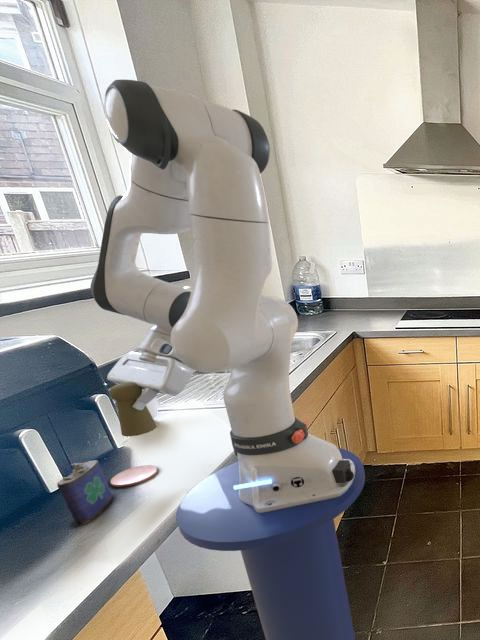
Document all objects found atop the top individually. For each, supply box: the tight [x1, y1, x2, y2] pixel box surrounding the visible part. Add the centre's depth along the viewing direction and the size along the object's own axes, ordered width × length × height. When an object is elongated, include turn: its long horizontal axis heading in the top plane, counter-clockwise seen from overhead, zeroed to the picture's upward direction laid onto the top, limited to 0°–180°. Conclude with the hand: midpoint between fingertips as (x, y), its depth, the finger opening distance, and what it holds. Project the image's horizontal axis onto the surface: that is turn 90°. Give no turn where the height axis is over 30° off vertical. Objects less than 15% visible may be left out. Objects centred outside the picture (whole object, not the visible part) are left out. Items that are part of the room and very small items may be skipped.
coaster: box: [109, 464, 159, 488], centre depth 93 cm, size 8×8×1 cm
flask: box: [56, 459, 113, 526], centre depth 81 cm, size 9×3×11 cm, turn 15°
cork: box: [109, 382, 158, 437], centre depth 90 cm, size 6×6×11 cm
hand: (127, 407), depth 90 cm, fingers closed on cork, 4 cm apart
